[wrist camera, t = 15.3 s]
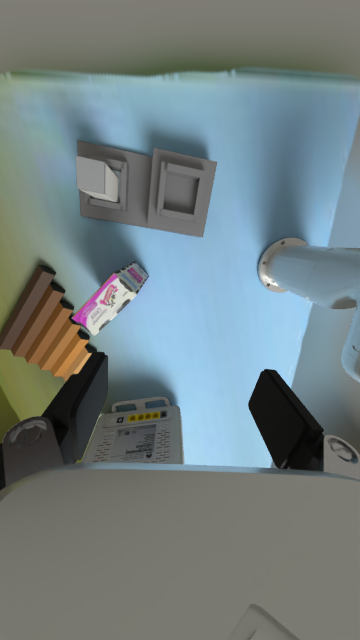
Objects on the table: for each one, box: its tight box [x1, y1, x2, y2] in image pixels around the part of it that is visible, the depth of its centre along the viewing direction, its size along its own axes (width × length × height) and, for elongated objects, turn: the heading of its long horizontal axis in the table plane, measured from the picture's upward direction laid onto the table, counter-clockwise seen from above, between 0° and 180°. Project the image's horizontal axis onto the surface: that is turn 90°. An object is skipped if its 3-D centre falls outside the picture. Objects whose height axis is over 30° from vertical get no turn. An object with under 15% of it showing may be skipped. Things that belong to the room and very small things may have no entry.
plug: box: [76, 156, 119, 204], centre depth 32 cm, size 4×4×9 cm
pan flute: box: [0, 265, 97, 382], centre depth 48 cm, size 25×3×25 cm
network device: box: [82, 396, 184, 465], centre depth 52 cm, size 26×9×20 cm, turn 97°
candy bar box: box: [72, 261, 149, 336], centre depth 37 cm, size 11×5×16 cm, turn 132°
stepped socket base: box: [77, 140, 217, 237], centre depth 34 cm, size 25×12×7 cm, turn 81°
